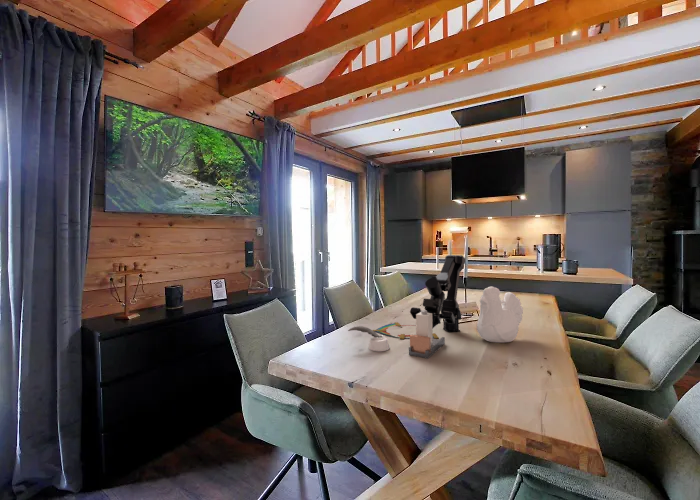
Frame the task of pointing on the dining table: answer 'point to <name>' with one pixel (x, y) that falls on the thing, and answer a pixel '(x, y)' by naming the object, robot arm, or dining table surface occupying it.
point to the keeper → (424, 324)
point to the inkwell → (374, 339)
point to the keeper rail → (433, 349)
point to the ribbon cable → (383, 331)
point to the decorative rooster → (499, 316)
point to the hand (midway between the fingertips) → (427, 332)
